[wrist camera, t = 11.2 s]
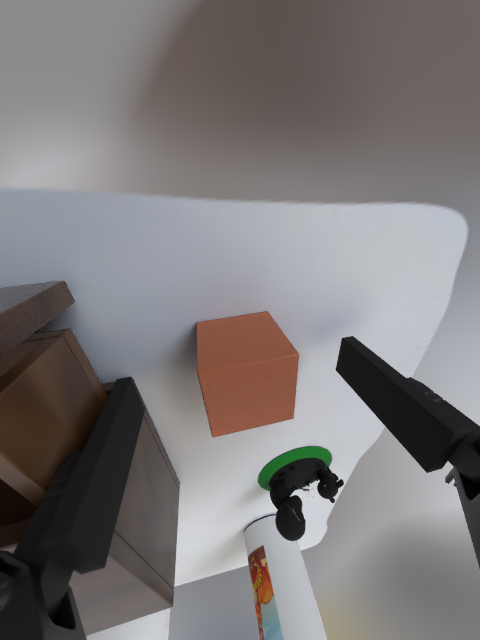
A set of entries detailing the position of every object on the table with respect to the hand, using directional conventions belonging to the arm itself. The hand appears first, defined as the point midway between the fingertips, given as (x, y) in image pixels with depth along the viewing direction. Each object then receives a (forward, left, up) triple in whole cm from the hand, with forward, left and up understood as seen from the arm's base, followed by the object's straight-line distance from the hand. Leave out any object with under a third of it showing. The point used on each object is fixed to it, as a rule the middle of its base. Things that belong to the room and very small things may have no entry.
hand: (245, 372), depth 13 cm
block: (0, 0, -3) cm, 3 cm away
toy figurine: (+21, +6, -3) cm, 22 cm away
